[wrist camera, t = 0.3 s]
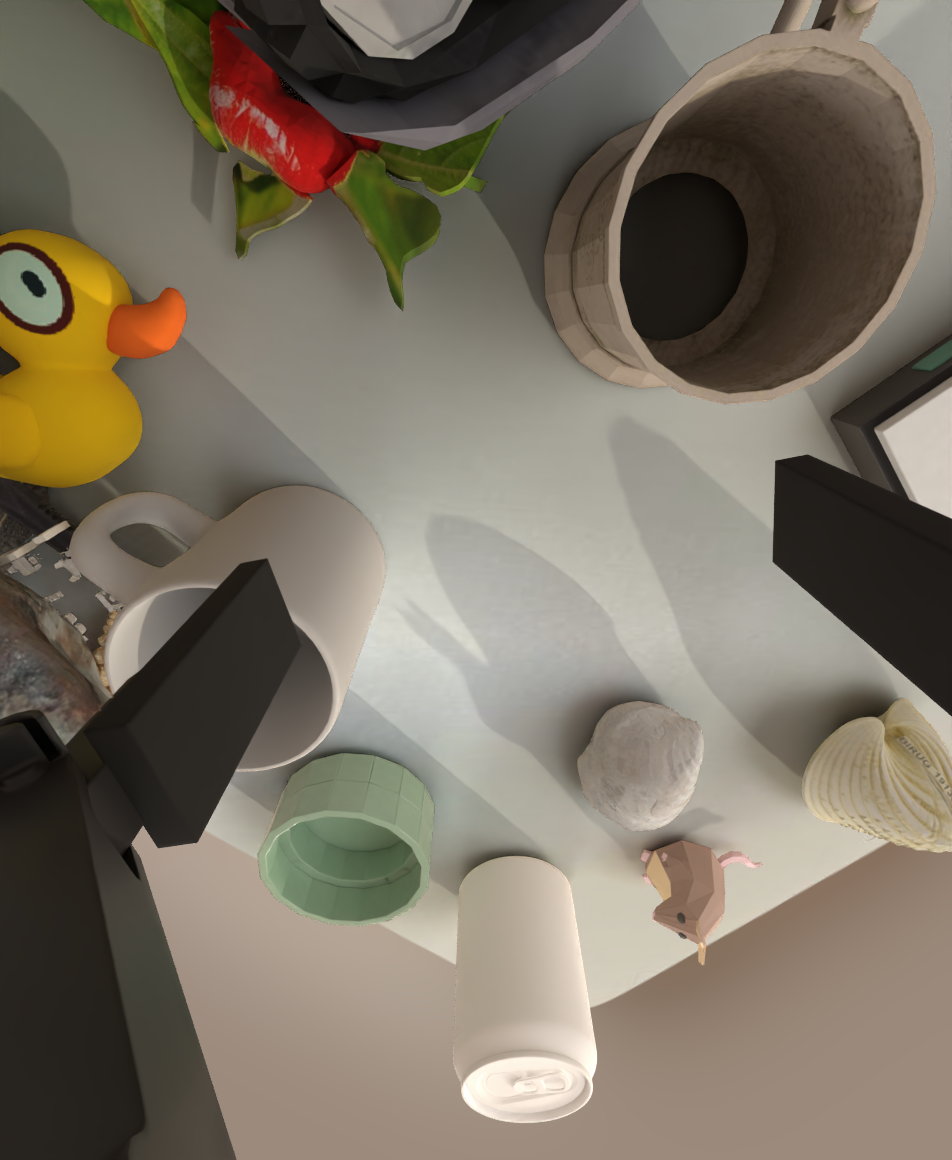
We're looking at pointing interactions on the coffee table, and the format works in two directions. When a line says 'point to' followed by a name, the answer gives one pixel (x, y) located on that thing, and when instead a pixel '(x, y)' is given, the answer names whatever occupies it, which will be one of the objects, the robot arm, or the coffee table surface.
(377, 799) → the bowl
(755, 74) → the mug
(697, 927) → the mouse figurine
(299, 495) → the mug
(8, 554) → the miniature furniture
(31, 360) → the duckling
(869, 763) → the seashell
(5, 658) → the stone
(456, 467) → the coffee table surface
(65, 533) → the knife
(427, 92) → the toy tank
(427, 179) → the decorative ornament
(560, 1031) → the beverage can
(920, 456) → the kitchen scale
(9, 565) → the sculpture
